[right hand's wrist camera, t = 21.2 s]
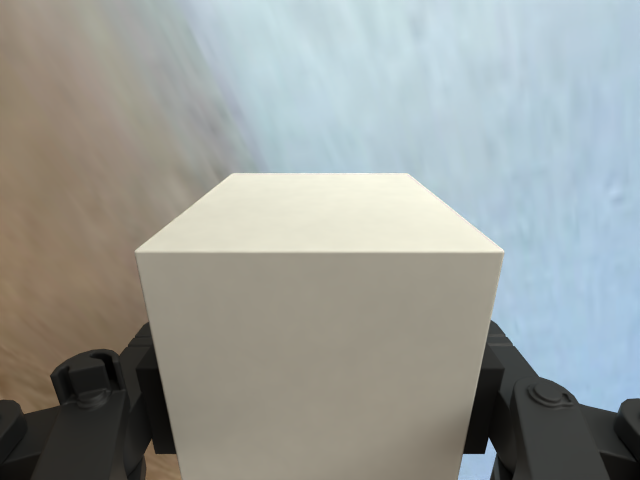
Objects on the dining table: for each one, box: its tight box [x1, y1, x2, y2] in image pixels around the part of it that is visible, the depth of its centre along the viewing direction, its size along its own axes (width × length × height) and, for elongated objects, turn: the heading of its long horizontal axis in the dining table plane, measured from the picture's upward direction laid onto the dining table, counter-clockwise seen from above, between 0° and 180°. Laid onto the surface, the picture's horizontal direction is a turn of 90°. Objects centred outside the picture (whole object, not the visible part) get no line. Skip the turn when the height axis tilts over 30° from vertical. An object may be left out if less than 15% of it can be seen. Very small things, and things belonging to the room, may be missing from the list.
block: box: [135, 173, 504, 480], centre depth 12 cm, size 9×7×8 cm
